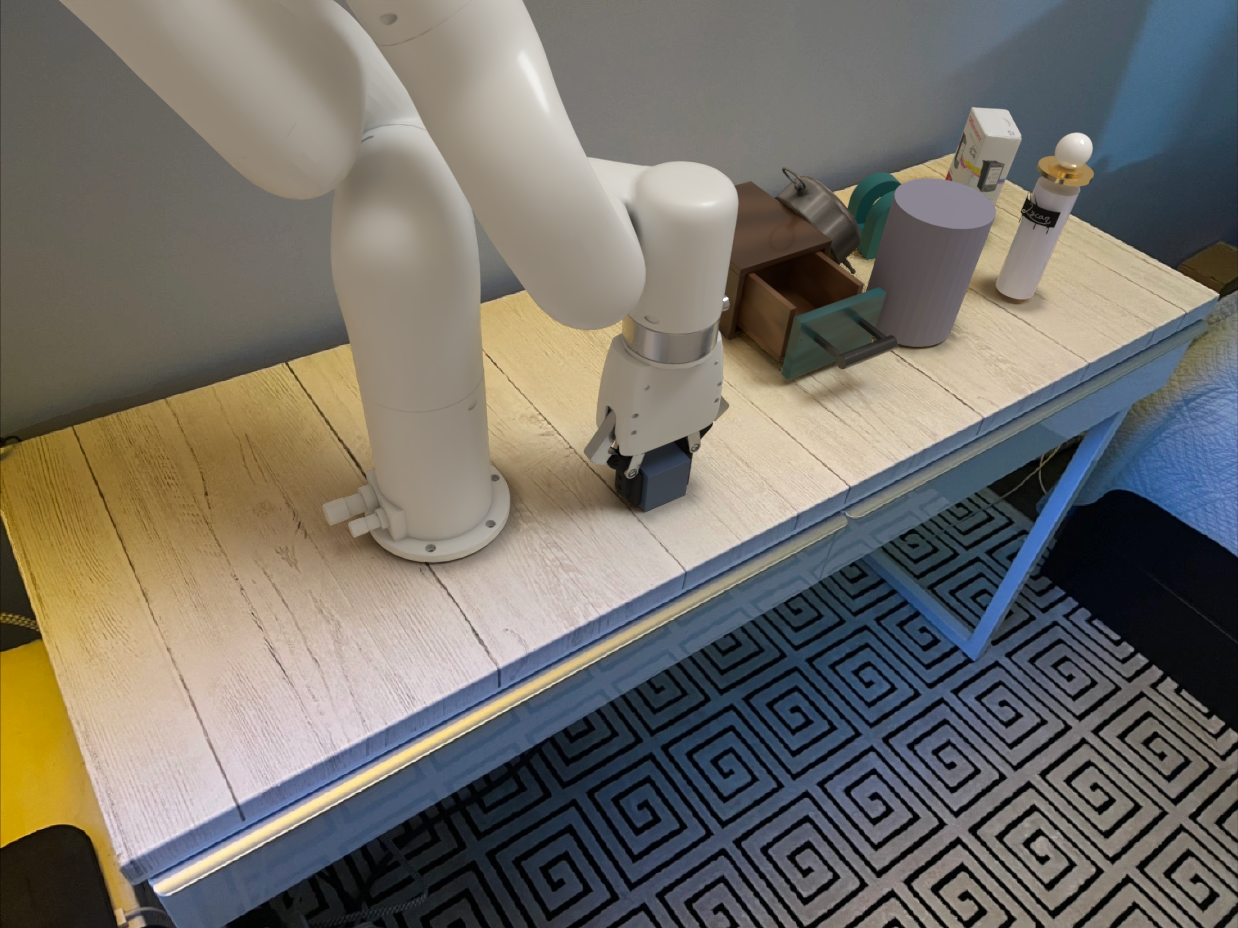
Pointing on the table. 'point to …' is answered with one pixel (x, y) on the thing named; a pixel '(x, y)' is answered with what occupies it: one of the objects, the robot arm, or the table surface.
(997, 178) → the ink box
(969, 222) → the container
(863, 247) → the bracket
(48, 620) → the table surface
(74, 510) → the table surface
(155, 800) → the table surface
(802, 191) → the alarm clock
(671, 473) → the block
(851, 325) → the drawer
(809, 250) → the cabinet
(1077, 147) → the perfume bottle
